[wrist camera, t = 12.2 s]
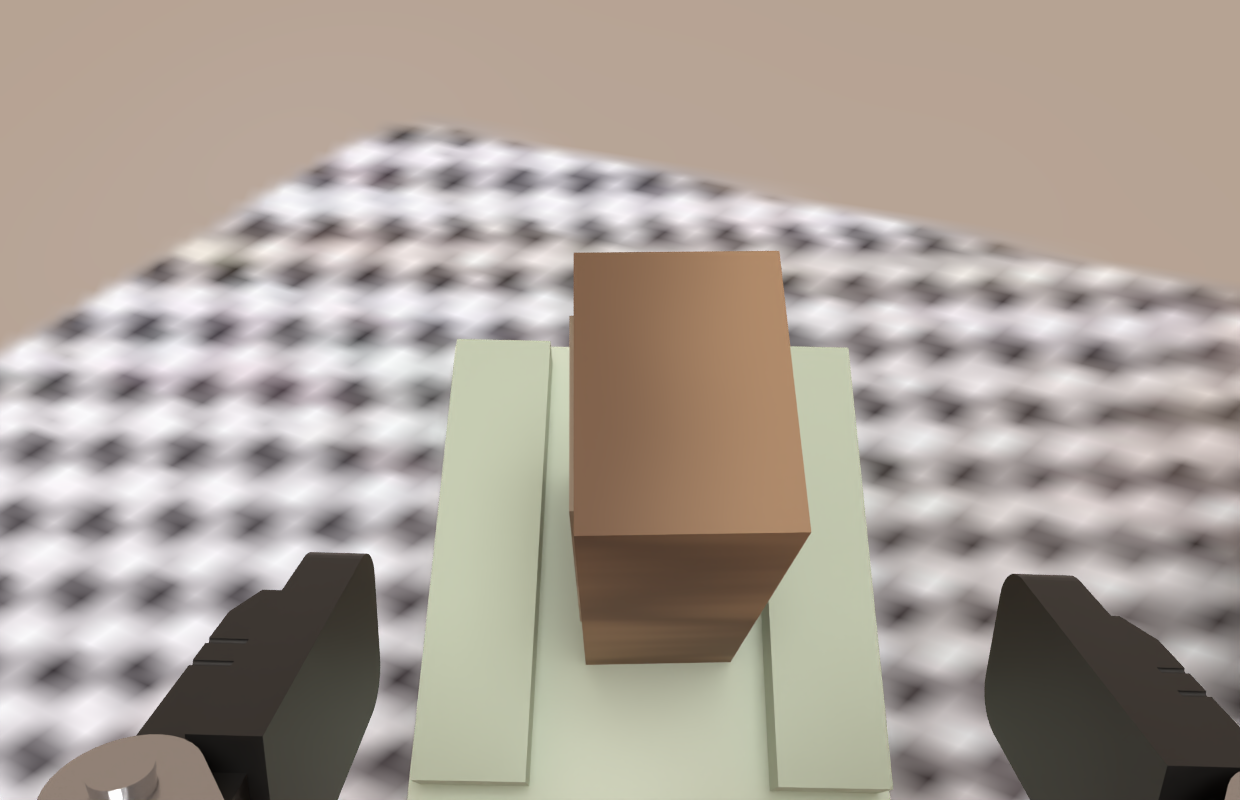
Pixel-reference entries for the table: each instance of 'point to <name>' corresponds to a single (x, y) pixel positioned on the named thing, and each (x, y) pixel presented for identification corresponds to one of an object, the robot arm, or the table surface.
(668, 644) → the wooden block
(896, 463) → the table surface
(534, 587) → the plinth
